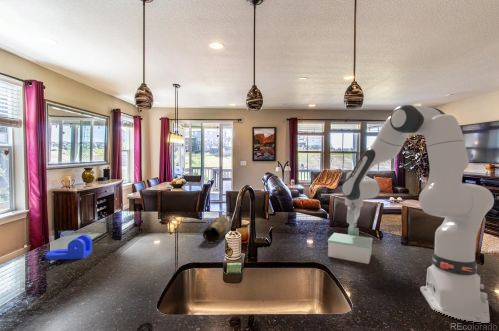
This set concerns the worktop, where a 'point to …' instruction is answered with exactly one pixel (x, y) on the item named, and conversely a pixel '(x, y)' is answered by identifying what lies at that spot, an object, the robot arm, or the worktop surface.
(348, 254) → the tub
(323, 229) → the worktop surface
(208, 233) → the decorative bottle
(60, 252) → the bracket
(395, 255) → the worktop surface
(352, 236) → the lid
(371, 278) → the worktop surface
